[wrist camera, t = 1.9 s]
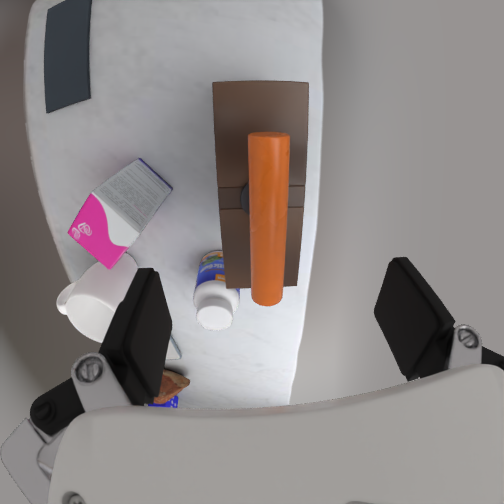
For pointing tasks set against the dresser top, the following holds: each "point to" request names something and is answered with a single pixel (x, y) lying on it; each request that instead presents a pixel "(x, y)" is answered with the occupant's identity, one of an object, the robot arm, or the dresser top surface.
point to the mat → (67, 54)
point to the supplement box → (119, 212)
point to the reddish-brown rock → (170, 386)
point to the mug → (97, 296)
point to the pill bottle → (214, 294)
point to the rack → (237, 169)
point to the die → (167, 403)
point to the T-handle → (267, 213)
